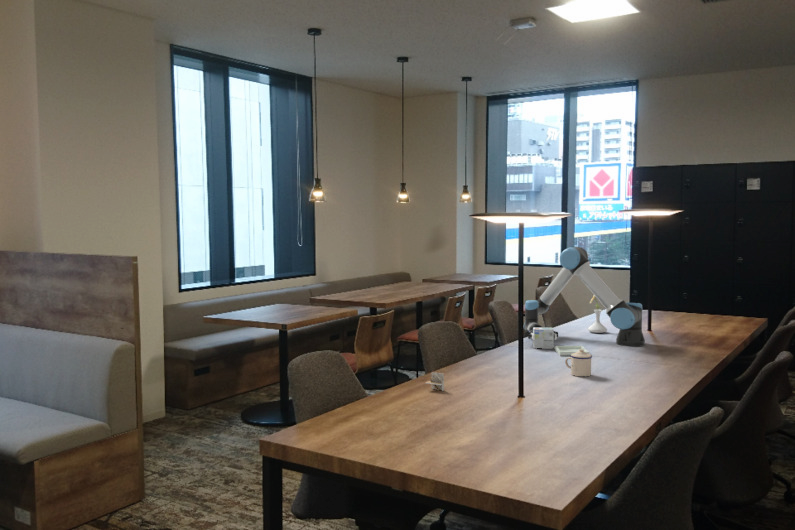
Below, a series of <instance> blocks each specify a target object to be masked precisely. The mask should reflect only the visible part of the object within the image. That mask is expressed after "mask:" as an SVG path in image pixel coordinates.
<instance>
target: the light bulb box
mask: <svg viewBox="0 0 795 530" xmlns="http://www.w3.org/2000/svg"><path fill="white" fill-rule="evenodd" d="M554 331H555V330H554V328H553V327H541V328H535V327H533V334H534V335H535V340H533V339H532V347H533V349H537V348H542V349H541V350H544V349H545V350H547V349H548V350H549V349H550V350H554V346H555V345H554V344H555V341H554V340H555V339H554ZM537 350H538V349H537Z"/></svg>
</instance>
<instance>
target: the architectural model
mask: <svg viewBox="0 0 795 530" xmlns="http://www.w3.org/2000/svg"><path fill="white" fill-rule="evenodd" d="M444 379H445V373H441V372H433V371H432V372H431V378H430V380H428V381H426V382H425V384H429V385H431V386H430V387H431V390H437V391H441V392H444V391H445V380H444Z"/></svg>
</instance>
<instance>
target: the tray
mask: <svg viewBox="0 0 795 530" xmlns="http://www.w3.org/2000/svg"><path fill="white" fill-rule="evenodd" d="M579 349H583V350H584V352H586V353H588V354H590V352H589V350H587V349H586V347H584V346H583V345H554V349H553V350H554V351H555V352H556V353H557V355H558V356H559V355H560V356H559V357H571V354H573V353H576V352H577V351H579Z"/></svg>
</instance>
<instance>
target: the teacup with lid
mask: <svg viewBox="0 0 795 530" xmlns="http://www.w3.org/2000/svg"><path fill="white" fill-rule="evenodd" d="M592 358H593V357H592V354H590V353H589V354H588V353H586V352H584V350H583V349H579V351H577V352H576V353H573V354H571V356H567V357H566V358H565V360H564V363H565V366H566V367H567V368H568V369H570V374H571V376H573V375H575V376H574V377H577V376H589V377H591V376H592ZM568 360H571V363H570V365H569V364H568ZM590 375H591V376H590Z"/></svg>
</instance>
